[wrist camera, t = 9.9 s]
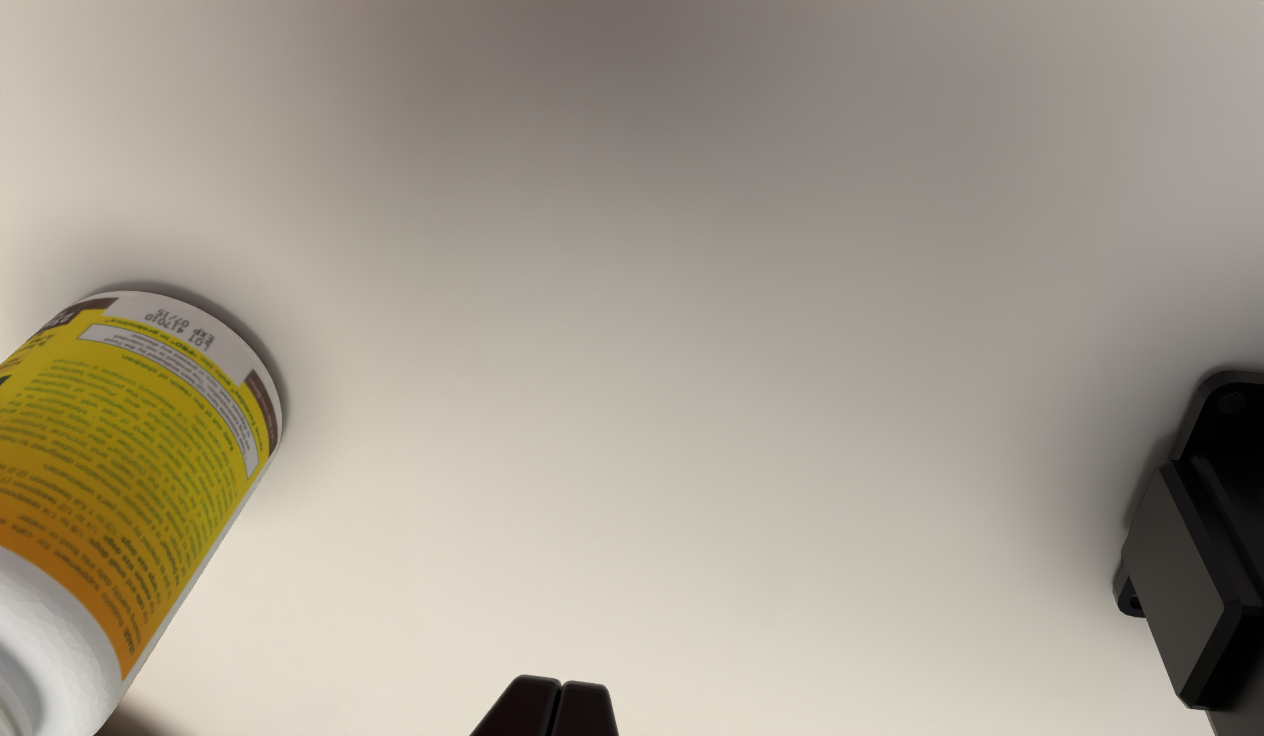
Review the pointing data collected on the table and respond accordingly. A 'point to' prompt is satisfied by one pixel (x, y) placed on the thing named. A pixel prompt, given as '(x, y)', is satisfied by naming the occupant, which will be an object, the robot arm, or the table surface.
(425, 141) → the table surface
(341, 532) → the table surface
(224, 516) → the supplement bottle
